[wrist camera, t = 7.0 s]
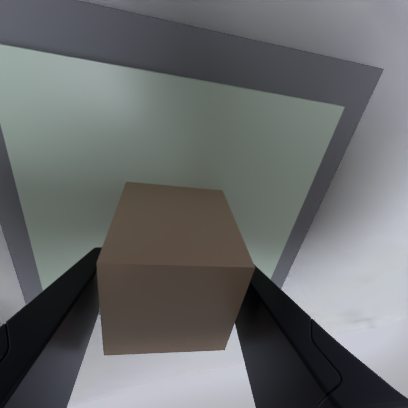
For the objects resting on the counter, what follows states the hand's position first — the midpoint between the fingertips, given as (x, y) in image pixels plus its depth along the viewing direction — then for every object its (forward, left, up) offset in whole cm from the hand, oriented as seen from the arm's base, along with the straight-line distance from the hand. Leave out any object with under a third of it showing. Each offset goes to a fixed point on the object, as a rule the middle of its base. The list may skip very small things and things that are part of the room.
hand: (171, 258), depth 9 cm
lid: (0, 0, -3) cm, 3 cm away
